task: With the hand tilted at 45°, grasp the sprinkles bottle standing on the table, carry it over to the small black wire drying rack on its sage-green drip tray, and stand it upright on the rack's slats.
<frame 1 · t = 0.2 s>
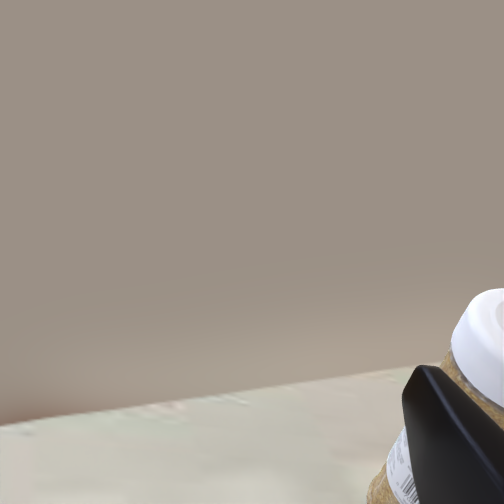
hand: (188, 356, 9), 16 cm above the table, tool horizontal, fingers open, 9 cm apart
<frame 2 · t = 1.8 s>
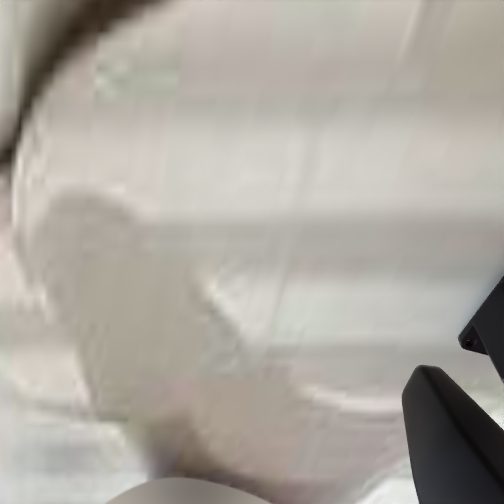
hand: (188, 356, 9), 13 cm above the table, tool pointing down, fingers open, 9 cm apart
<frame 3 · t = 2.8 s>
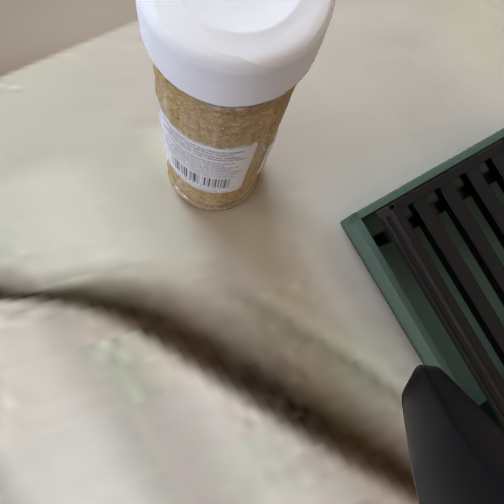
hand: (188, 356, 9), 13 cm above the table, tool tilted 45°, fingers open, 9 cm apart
drip tray: (492, 281, 24), on the table
sprinkles bottle: (212, 169, 24), on the table
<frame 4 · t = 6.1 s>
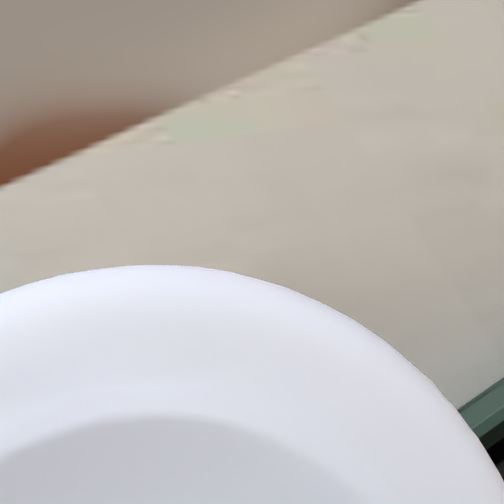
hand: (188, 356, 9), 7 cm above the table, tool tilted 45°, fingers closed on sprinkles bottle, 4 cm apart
sprinkles bottle: (182, 387, 15), on the table, touching gripper
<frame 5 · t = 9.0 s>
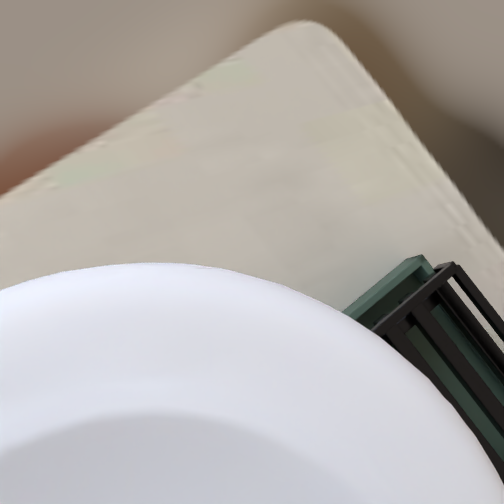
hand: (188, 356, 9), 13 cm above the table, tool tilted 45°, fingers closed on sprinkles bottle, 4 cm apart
drip tray: (408, 434, 23), on the table
rack: (434, 448, 20), in the drip tray
sprinkles bottle: (182, 386, 15), point 6 cm above the table, touching gripper
when the fingers open (10 cm above the table, at t = 12.2 s): sprinkles bottle stays where it is, resting on rack.
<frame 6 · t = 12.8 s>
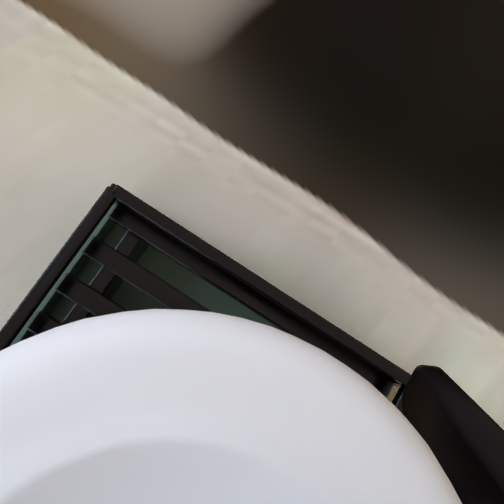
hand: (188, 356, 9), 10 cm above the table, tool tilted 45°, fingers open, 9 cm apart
drip tray: (182, 399, 19), on the table
rack: (181, 410, 16), in the drip tray
sprinkles bottle: (182, 392, 16), point 3 cm above the table, touching rack
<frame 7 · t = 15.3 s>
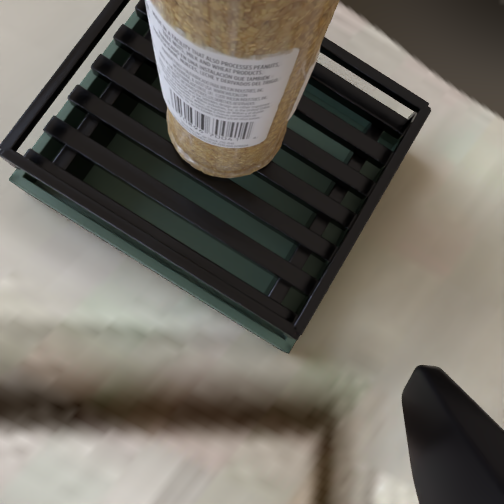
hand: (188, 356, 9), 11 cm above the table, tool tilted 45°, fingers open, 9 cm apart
drip tray: (221, 167, 21), on the table
rack: (223, 147, 19), in the drip tray
sprinkles bottle: (224, 126, 18), point 3 cm above the table, touching rack
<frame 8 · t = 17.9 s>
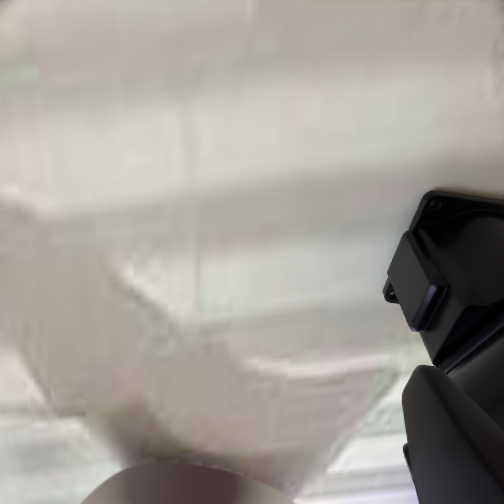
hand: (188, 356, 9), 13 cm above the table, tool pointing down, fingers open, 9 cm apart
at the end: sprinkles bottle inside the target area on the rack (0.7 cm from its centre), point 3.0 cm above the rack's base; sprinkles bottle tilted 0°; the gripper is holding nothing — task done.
